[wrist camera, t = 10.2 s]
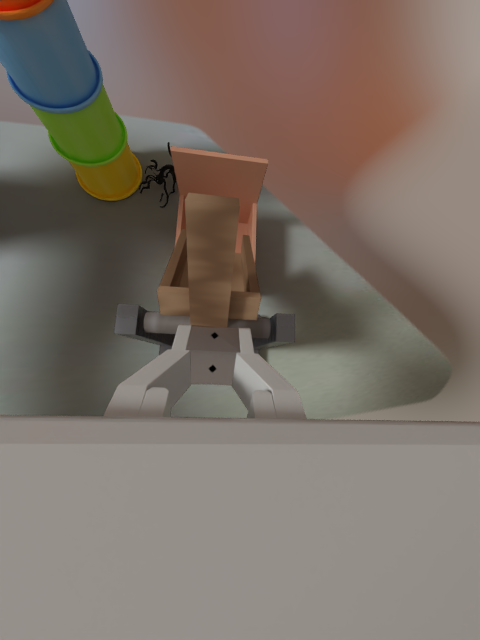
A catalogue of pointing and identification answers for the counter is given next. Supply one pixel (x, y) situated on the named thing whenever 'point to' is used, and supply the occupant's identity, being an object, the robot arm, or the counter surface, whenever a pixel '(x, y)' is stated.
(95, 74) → the stacking cups
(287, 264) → the counter surface
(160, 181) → the creature
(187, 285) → the lever
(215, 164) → the cup
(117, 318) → the lever stand
